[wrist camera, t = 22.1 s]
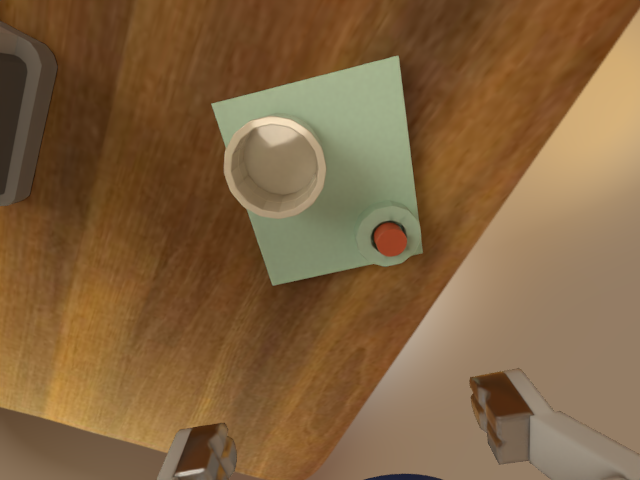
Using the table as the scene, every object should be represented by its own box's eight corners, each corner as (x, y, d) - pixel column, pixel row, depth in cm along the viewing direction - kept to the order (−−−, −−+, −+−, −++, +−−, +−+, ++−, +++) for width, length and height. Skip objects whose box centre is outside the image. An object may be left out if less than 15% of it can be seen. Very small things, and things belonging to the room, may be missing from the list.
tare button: (404, 245, 28) (408, 253, 27) (376, 251, 28) (379, 259, 27) (400, 219, 27) (405, 226, 26) (371, 225, 27) (374, 232, 26)
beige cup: (331, 188, 27) (335, 206, 23) (254, 206, 28) (242, 227, 23) (312, 103, 25) (312, 104, 20) (227, 125, 25) (208, 131, 21)
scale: (418, 246, 31) (428, 261, 28) (273, 278, 32) (270, 295, 29) (394, 57, 25) (404, 52, 22) (215, 103, 26) (204, 104, 23)
